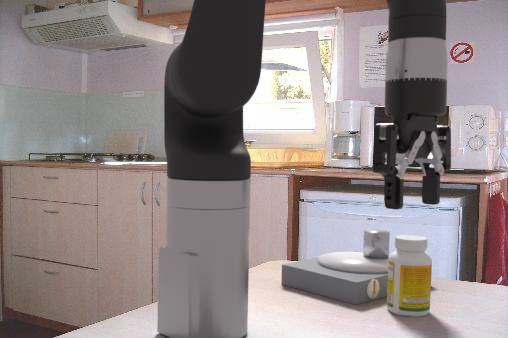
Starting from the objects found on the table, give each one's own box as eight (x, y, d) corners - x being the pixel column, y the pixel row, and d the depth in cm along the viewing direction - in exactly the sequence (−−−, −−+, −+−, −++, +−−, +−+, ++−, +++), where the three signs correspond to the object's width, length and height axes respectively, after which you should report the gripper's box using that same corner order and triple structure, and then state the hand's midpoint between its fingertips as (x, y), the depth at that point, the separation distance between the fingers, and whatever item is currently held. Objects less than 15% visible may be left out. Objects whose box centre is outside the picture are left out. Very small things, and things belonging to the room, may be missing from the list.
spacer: (379, 260, 88) (379, 234, 88) (357, 256, 91) (358, 231, 91) (394, 257, 91) (394, 232, 90) (373, 253, 94) (373, 228, 93)
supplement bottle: (378, 309, 74) (380, 236, 74) (403, 303, 78) (405, 232, 77) (413, 320, 70) (416, 242, 70) (438, 312, 74) (441, 238, 73)
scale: (358, 305, 76) (359, 278, 76) (281, 284, 87) (282, 260, 86) (430, 284, 88) (431, 261, 88) (355, 268, 99) (355, 247, 99)
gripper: (410, 71, 65) (407, 214, 66) (471, 80, 75) (468, 205, 75) (356, 76, 70) (354, 208, 71) (420, 84, 80) (417, 200, 81)
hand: (413, 206), depth 73 cm, fingers open, 8 cm apart
